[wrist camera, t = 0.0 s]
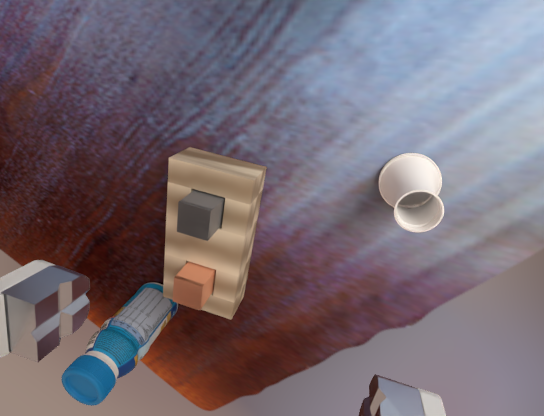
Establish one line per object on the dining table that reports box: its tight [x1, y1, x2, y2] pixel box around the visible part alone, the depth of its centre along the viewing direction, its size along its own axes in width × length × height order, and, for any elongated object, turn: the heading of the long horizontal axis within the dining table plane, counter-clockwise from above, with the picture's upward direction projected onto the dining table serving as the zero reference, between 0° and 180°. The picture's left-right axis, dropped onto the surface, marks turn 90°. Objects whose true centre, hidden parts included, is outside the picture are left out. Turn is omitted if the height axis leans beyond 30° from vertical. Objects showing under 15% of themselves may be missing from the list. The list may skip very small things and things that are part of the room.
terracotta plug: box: [173, 261, 216, 311], centre depth 51 cm, size 4×4×6 cm
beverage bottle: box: [62, 282, 178, 405], centre depth 56 cm, size 8×8×20 cm
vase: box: [379, 153, 444, 232], centre depth 40 cm, size 8×8×10 cm
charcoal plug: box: [177, 190, 225, 241], centre depth 46 cm, size 4×4×6 cm
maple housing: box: [163, 147, 267, 319], centre depth 52 cm, size 24×12×6 cm, turn 170°
